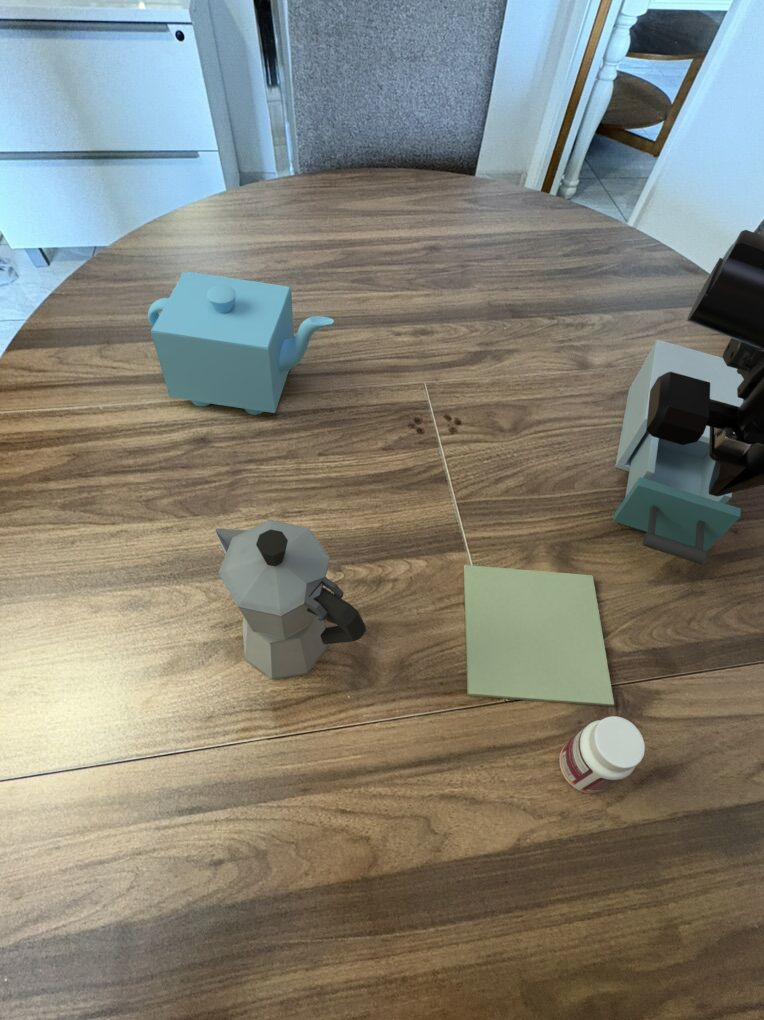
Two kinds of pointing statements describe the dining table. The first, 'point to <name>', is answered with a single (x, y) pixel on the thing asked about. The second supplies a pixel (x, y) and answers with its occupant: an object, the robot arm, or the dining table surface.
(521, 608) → the mat
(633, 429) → the pale grey hollow box
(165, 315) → the teapot
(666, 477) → the drawer
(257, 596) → the coffee maker
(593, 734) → the pill bottle
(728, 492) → the robot arm
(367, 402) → the dining table surface
